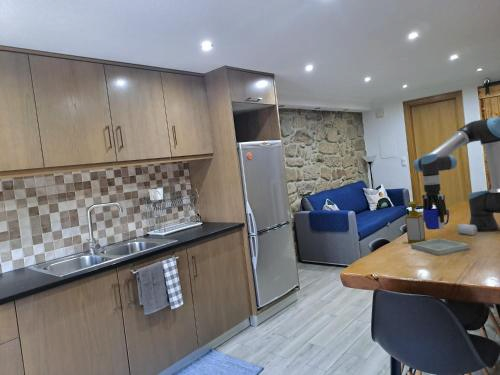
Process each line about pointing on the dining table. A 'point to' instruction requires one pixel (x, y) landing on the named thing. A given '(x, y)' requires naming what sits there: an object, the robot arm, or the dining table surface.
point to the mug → (433, 218)
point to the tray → (439, 246)
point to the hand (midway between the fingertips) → (436, 227)
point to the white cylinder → (467, 229)
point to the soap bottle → (415, 225)
